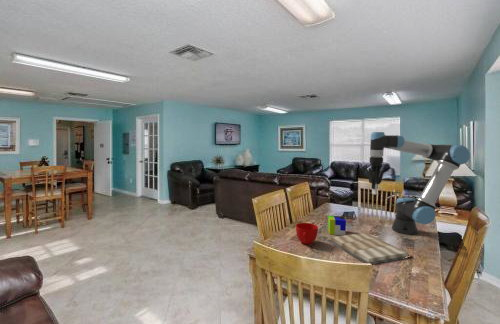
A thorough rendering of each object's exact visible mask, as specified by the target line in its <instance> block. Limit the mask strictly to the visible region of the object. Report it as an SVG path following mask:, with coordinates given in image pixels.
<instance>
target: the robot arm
mask: <svg viewBox="0 0 500 324" xmlns="http://www.w3.org/2000/svg"><path fill="white" fill-rule="evenodd" d="M369 147H370V148H369V150H370V151H369V156H370V157H369V166H368V167H367V168H366V171H367V177H368V178H367V179H368V183H370V184H371V194H372V195H378V189H379V185H380V184H381V183H382V180H383V176H384V172H385V170H386V167H383V163H384V149H388V150H389V149H390V150H395V151H398V152H401V153H402V152H403V153H408V154H412V155H418V156H422V158H425V159H428V160H432V161H436V163H437V166H436V168H435V169H434V171H433V173H432V175H431V176H430V178H429V180H428V182H427V183H426V185H425V187H424V188H423V190H422V192H421V194H420V196H419V197H416V198H412V197H398V198H397V199H396V202H395V204H396V205H395V206H396V207H395V219H394V221H393V224H392V227H391V229H392V231H394V232H396V233H399V234H403V235H411V236H412V234H414V235H417V234H419V233H418V231H419V230H418V227H417V224H421V225H428V224H432V222H434V221H435V219H436V216H437V214H436V208H437V206H436V202H437V200H438V199H439V197H440V195H441V194H442V191H444V188H445V187H446V184H447V183H448V181H449V179H450V178H451V176H452V174H453V172H454V171H456V170H459V169H460V167H461V165H464V164H467V162H469V160H470V158H471V152H470V150H469V149H468V148H467V147H466V146H465V145H463V144H430V143H427V144H426V143H425V144H424V143H420V142H419V143H417V142H414V141H409V140H405V138H404V136H403V135H397V134H396V135H395V134H394V135H393V134H392V135H391V134H390V135H386V134H385V132H384V131H372V132H371V134H370V146H369Z"/></svg>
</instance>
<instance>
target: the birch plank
mask: <svg viewBox="0 0 500 324" xmlns="http://www.w3.org/2000/svg"><path fill="white" fill-rule="evenodd" d="M355 255H357V256H358V257H360V258H362V259H363V260H365V261H367V262H368V263H369V262H375V261H381V260H387V259H393V258H399V257H405V256H408V255H409V253H408V251H406V250H403V249H402V248H399V247H397V246H394V245H393V244H391V245H390V246H383V247H376V248H369V249H363V250H356V251H355Z"/></svg>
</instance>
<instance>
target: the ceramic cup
mask: <svg viewBox="0 0 500 324" xmlns="http://www.w3.org/2000/svg"><path fill="white" fill-rule="evenodd" d="M318 230H319V226H318V225H316V224H314V223H310V222H299V223H297V224H295V231H296V232H295V233H296V236H297V238H298V240H299V241H300V243H301V244H304V245H312V244H313V243H314V242H315V240H316V239H317V237H318V233H319V231H318Z"/></svg>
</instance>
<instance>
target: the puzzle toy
mask: <svg viewBox="0 0 500 324" xmlns="http://www.w3.org/2000/svg"><path fill="white" fill-rule="evenodd" d="M327 220H328V221H327V232H328V234H329V235H330V236H331V235H332V236H344V235H346V231H347V230H346V228H347V227H346V225H347V220H346V219H345V216H344V215H343V216H341V215H340V216H339V215H328V217H327Z"/></svg>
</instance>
